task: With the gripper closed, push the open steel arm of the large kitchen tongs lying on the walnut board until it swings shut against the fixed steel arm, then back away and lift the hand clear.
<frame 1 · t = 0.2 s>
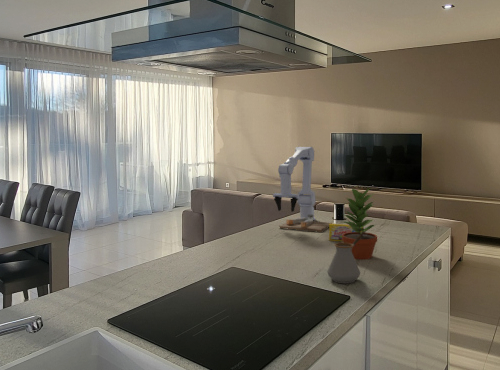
hand: (286, 210, 246), 10 cm above the counter, tool pointing down, fingers open, 7 cm apart
candy box: (346, 241, 217), on the counter
tongs swing arm: (296, 220, 253), point 3 cm above the counter, hinge at -30.0°
coffee pot: (350, 277, 165), on the counter
tongs fixed arm: (310, 221, 257), resting on walnut board
potted plant: (358, 256, 191), on the counter
walnut board: (305, 227, 251), on the counter
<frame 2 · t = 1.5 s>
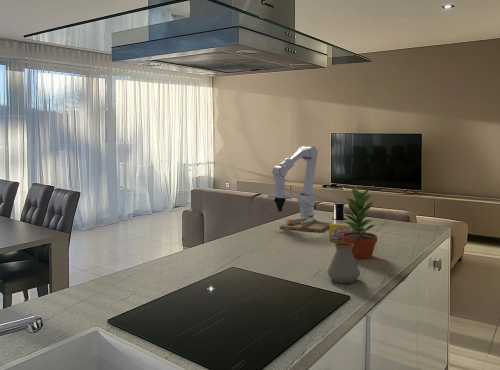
hand: (280, 211, 253), 9 cm above the counter, tool pointing down, fingers closed
nothing on the counter moved.
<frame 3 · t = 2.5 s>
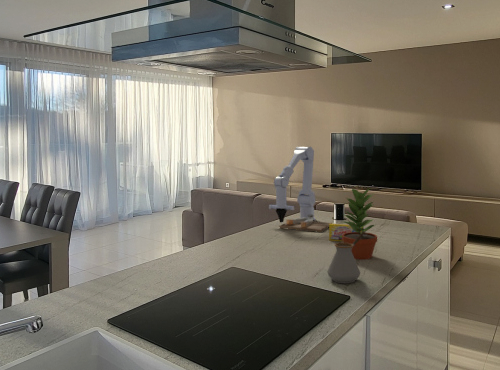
hand: (281, 222, 254), 2 cm above the counter, tool pointing down, fingers closed
nothing on the counter moved.
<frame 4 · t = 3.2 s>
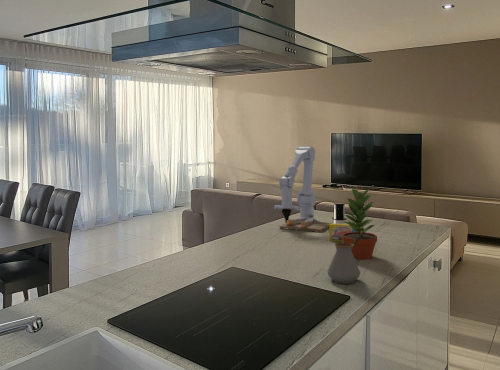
hand: (286, 222, 252), 3 cm above the counter, tool pointing down, fingers closed
tongs swing arm: (297, 221, 253), point 3 cm above the counter, hinge at -28.8°, touching gripper
everything else where it was.
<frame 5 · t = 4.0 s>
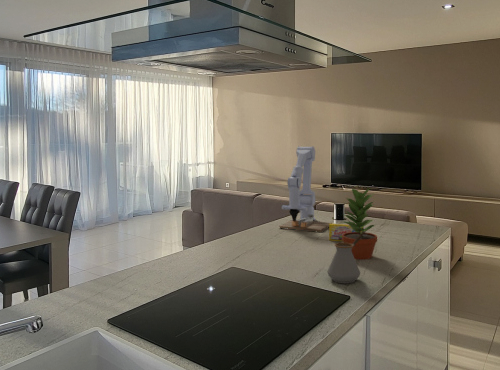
hand: (294, 222, 250), 3 cm above the counter, tool pointing down, fingers closed, pressing on tongs swing arm
tongs swing arm: (300, 221, 251), point 3 cm above the counter, hinge at -11.7°, touching gripper
everything else where it was.
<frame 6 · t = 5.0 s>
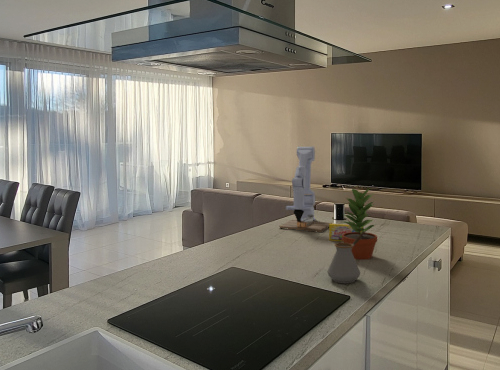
hand: (298, 223, 249), 3 cm above the counter, tool pointing down, fingers closed
tongs swing arm: (303, 222, 250), point 3 cm above the counter, hinge at 0.1°, touching gripper
everything else where it was.
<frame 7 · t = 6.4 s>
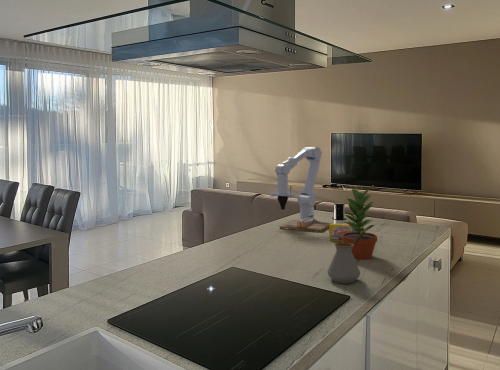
hand: (283, 209, 256), 9 cm above the counter, tool pointing down, fingers closed
tongs swing arm: (303, 222, 250), point 3 cm above the counter, hinge at 0.1°
everything else where it was.
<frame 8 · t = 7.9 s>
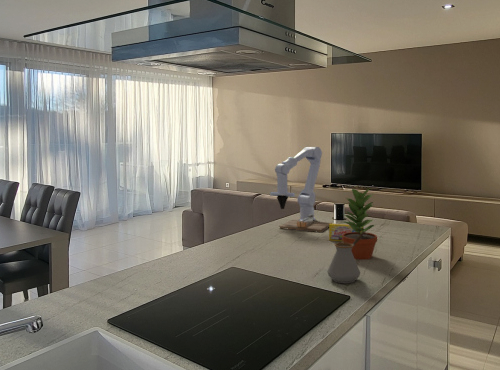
hand: (282, 208, 256), 9 cm above the counter, tool pointing down, fingers closed
nothing on the counter moved.
at the end: tongs swing arm at +0° (first picture: -30°) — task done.
